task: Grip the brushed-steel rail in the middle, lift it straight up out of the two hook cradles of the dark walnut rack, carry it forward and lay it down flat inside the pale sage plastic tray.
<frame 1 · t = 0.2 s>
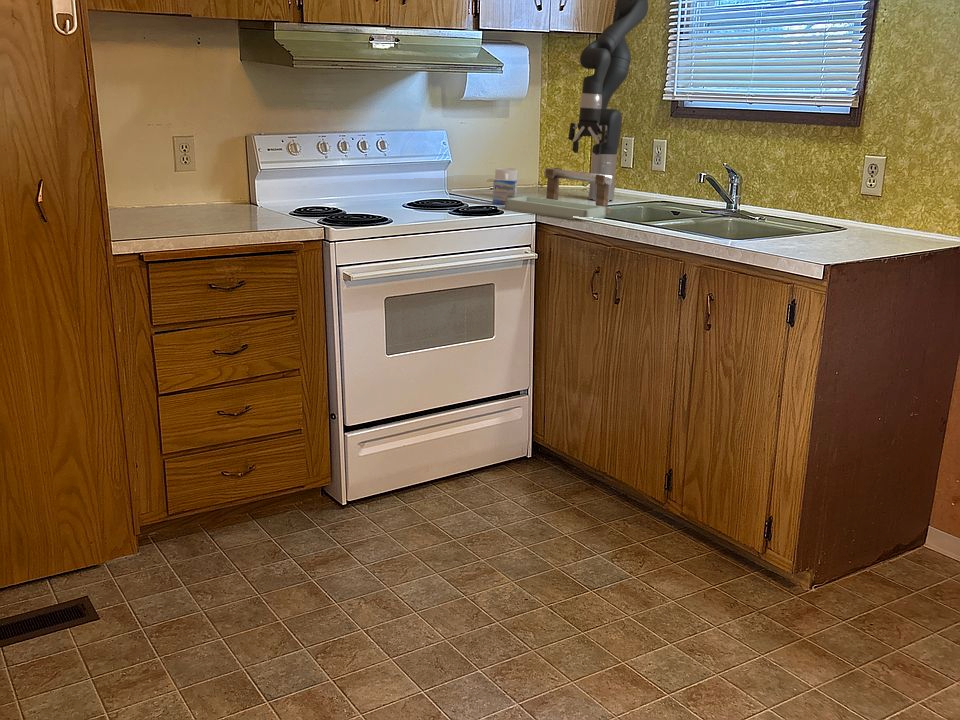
hand: (586, 153, 333), 18 cm above the worktop, tool pointing down, fingers open, 8 cm apart
rail: (578, 180, 320), point 10 cm above the worktop, touching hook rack
tray: (554, 213, 312), on the worktop
medicine box: (503, 205, 327), on the worktop
mug: (505, 198, 344), on the worktop
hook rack: (575, 209, 323), on the worktop
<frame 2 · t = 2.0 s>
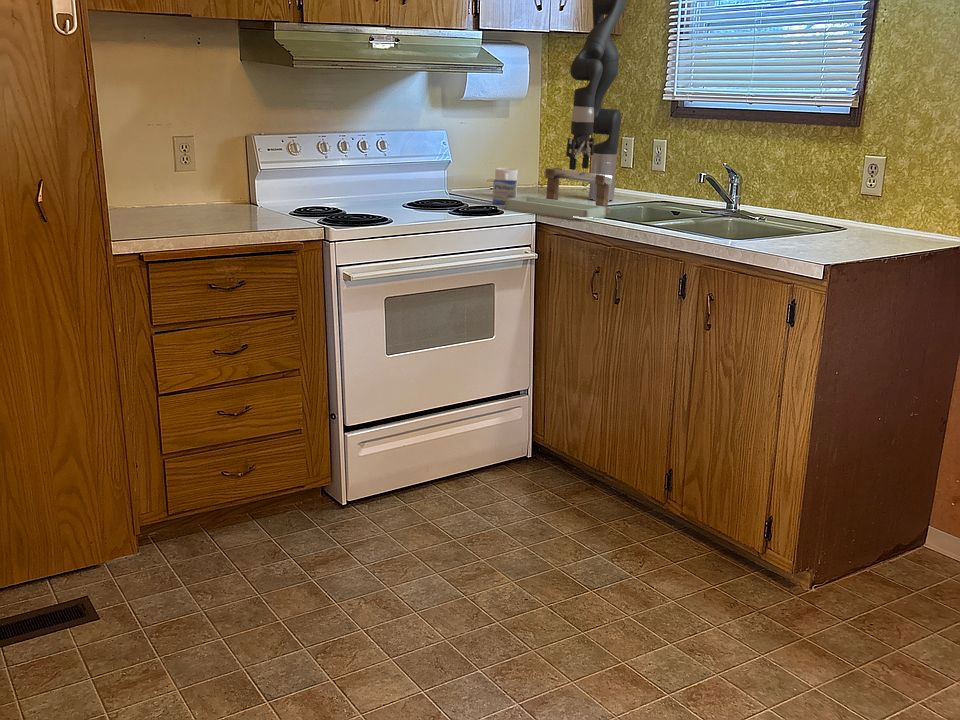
hand: (578, 169, 318), 14 cm above the worktop, tool pointing down, fingers open, 8 cm apart
nothing on the worktop moved.
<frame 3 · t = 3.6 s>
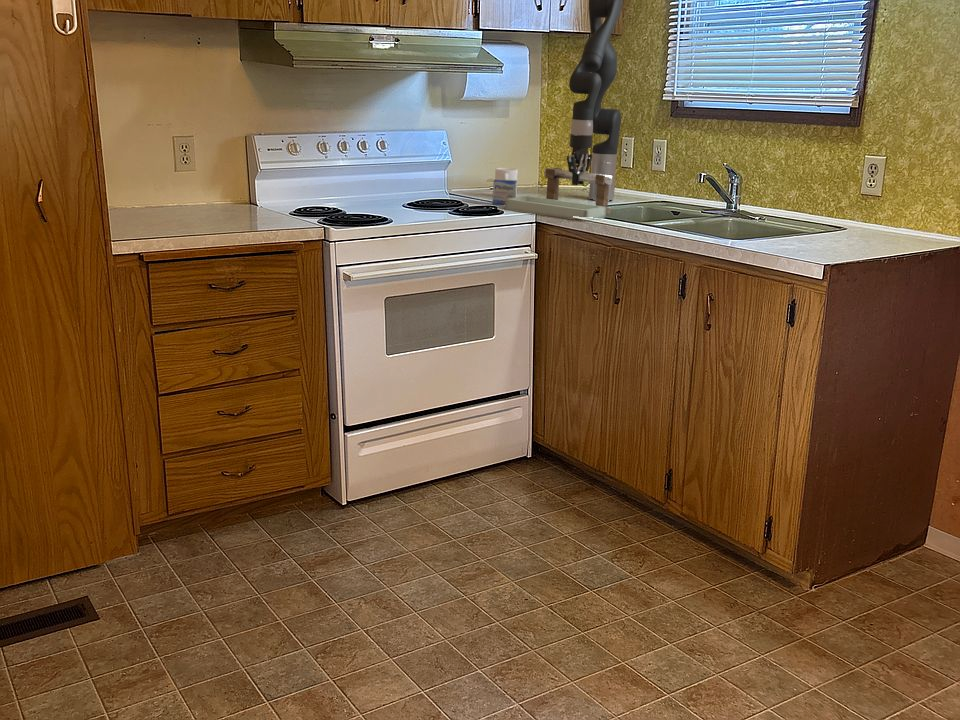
hand: (577, 184, 320), 9 cm above the worktop, tool pointing down, fingers closed on rail, 3 cm apart
rail: (578, 180, 320), point 10 cm above the worktop, touching gripper, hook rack
everything else where it was.
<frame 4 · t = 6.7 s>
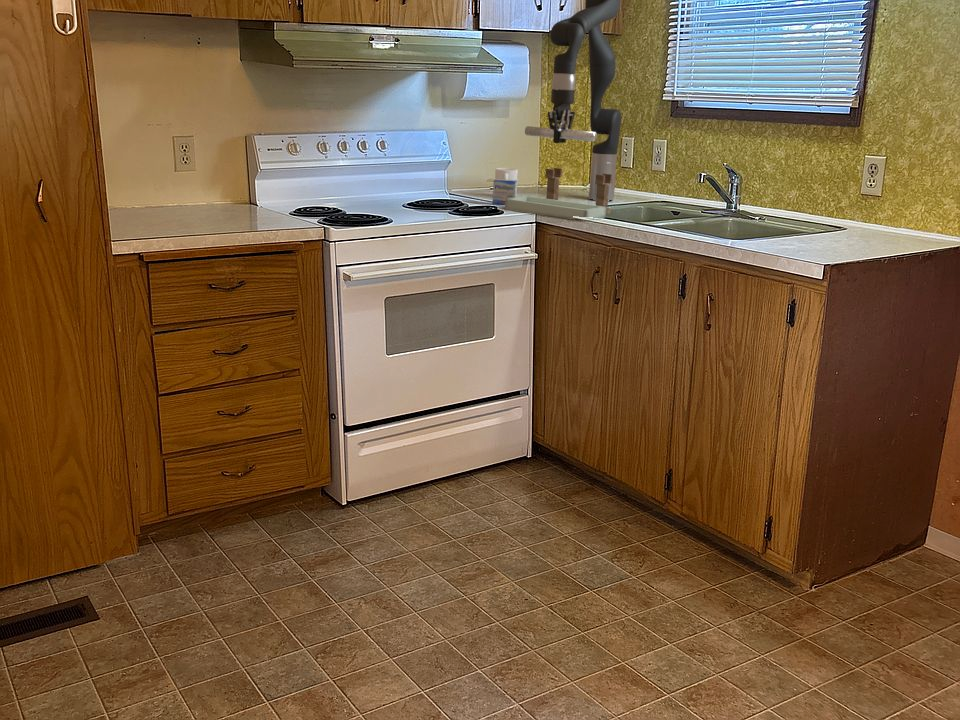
hand: (559, 142, 305), 23 cm above the worktop, tool pointing down, fingers closed on rail, 3 cm apart
rail: (559, 138, 305), point 25 cm above the worktop, touching gripper
everything else where it was.
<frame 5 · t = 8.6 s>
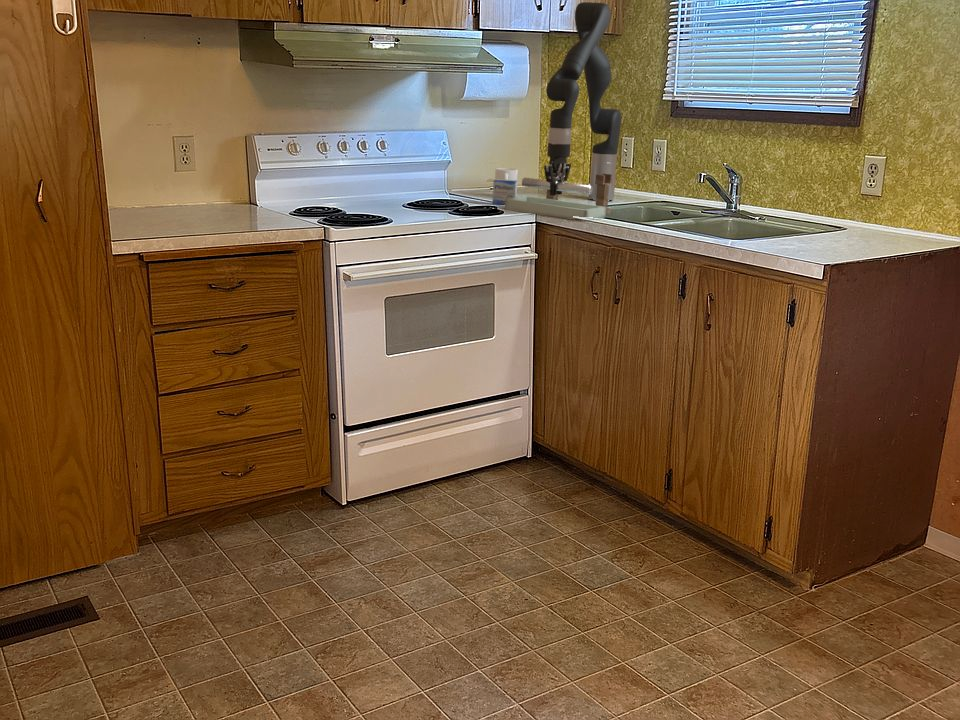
hand: (555, 194, 310), 6 cm above the worktop, tool pointing down, fingers closed on rail, 3 cm apart
rail: (556, 190, 310), point 8 cm above the worktop, touching gripper
everything else where it was.
when the fingers open (2 cm above the worktop, at t = 10.1 s): rail drops 3 cm, resting on tray.
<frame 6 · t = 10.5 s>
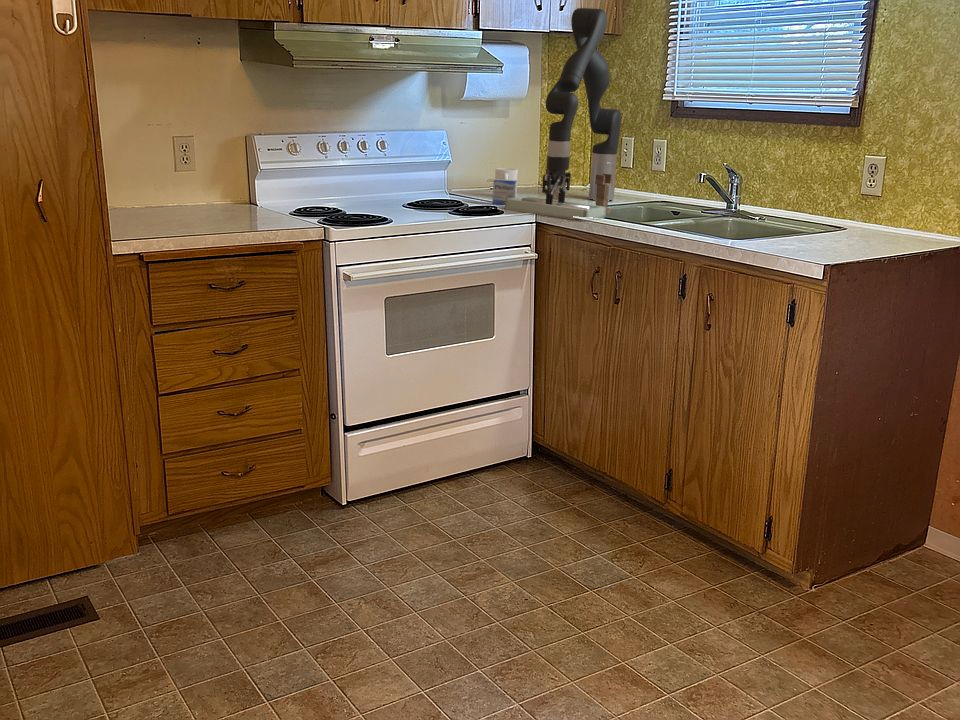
hand: (555, 204, 311), 3 cm above the worktop, tool pointing down, fingers open, 7 cm apart
rail: (554, 210, 312), point 1 cm above the worktop, touching tray
everything else where it was.
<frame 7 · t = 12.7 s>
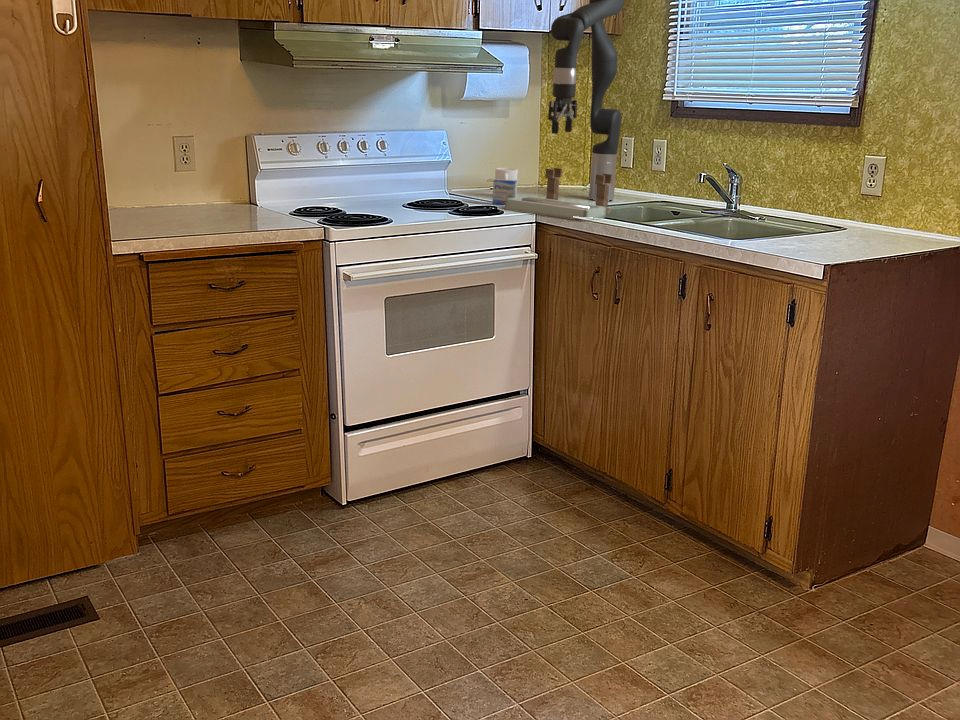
hand: (561, 132, 310), 26 cm above the worktop, tool pointing down, fingers open, 8 cm apart
rail: (554, 210, 312), point 1 cm above the worktop, tilted 9°, touching tray
everything else where it was.
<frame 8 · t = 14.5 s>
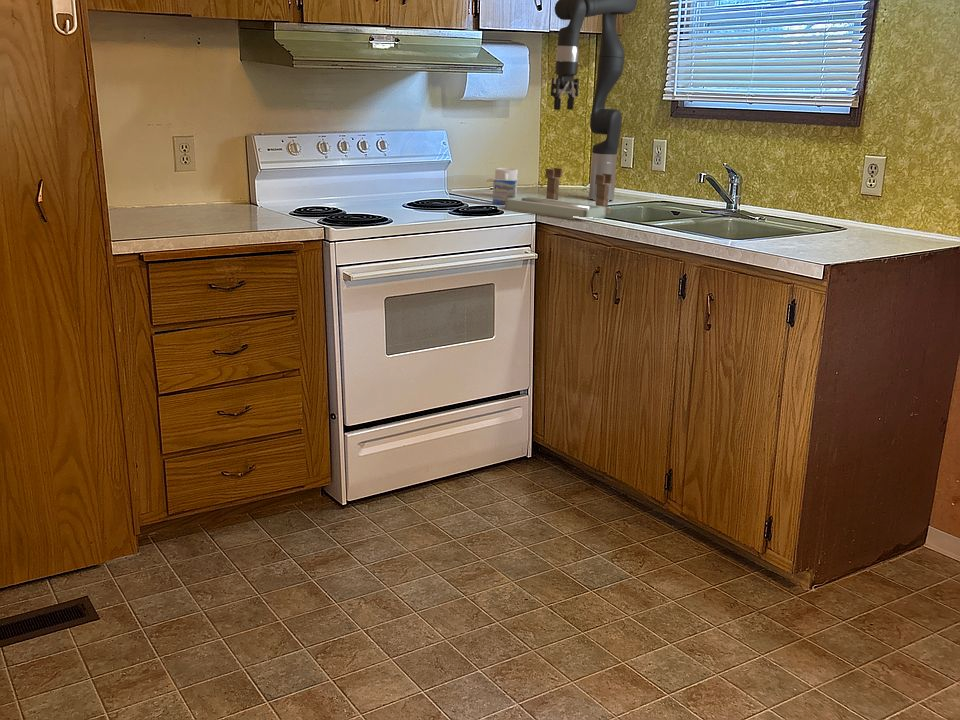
hand: (563, 109, 319), 33 cm above the worktop, tool pointing down, fingers open, 8 cm apart
rail: (554, 210, 312), point 1 cm above the worktop, touching tray
everything else where it was.
at the end: rail 0.1 cm off-centre on the tray, point 0.8 cm above the tray's base; rail touching tray; the gripper is holding nothing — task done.
